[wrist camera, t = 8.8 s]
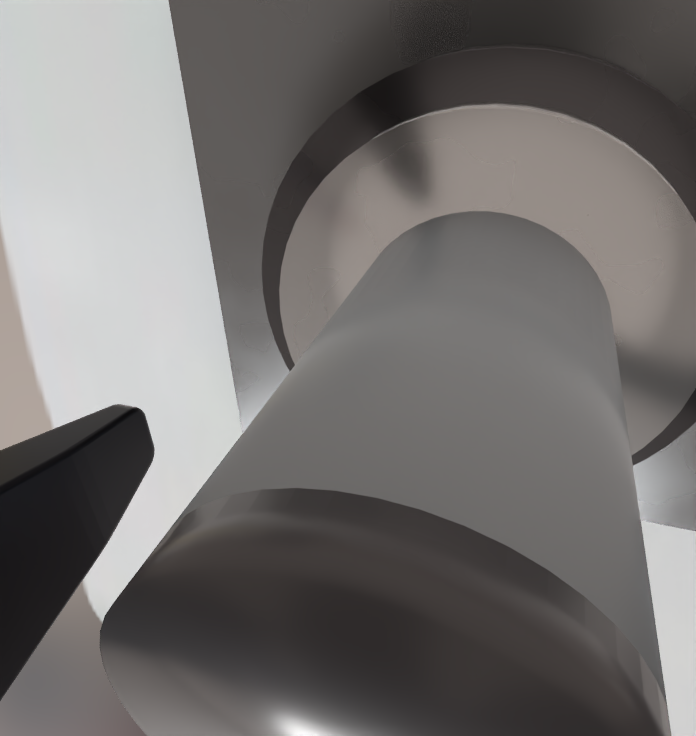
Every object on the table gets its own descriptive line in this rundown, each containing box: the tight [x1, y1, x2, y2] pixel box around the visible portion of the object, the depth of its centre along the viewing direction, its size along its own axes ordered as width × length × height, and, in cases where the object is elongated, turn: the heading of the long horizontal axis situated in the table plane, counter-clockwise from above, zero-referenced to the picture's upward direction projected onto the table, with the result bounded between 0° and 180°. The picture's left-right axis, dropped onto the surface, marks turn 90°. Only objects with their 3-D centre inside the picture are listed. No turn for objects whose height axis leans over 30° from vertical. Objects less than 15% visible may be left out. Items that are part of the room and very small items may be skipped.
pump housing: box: [100, 211, 671, 736], centre depth 8 cm, size 5×5×8 cm
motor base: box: [169, 0, 696, 531], centre depth 12 cm, size 14×12×3 cm
